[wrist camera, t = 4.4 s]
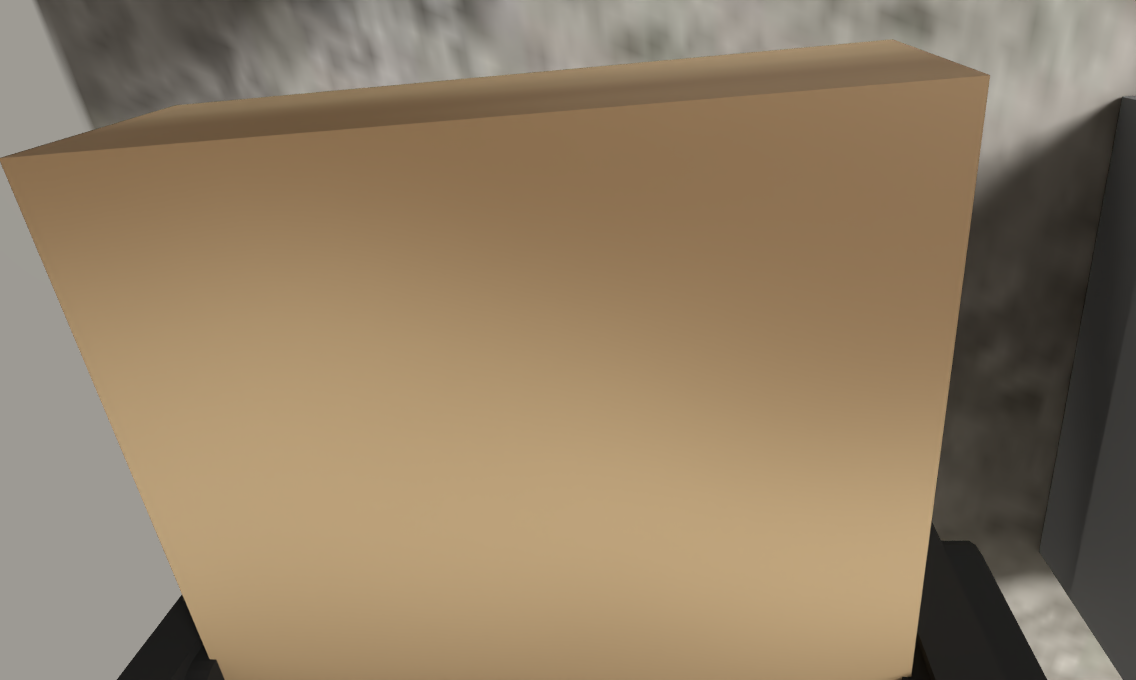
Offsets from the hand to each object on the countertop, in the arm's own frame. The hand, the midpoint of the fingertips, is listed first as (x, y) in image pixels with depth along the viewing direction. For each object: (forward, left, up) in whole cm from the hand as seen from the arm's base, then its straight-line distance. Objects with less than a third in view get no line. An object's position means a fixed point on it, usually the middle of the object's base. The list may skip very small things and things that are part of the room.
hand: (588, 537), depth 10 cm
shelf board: (0, 0, +1) cm, 1 cm away
